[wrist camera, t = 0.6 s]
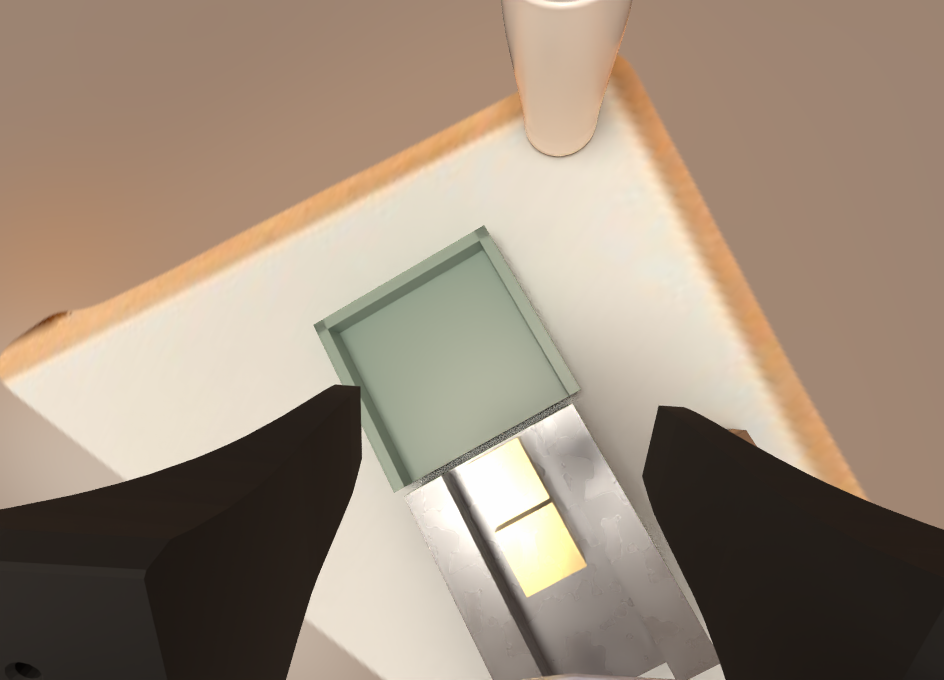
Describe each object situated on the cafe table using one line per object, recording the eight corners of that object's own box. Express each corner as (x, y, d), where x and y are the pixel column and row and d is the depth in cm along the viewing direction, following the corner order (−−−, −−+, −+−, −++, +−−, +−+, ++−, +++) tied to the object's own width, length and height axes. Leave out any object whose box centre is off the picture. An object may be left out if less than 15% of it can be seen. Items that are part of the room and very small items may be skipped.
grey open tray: (697, 626, 31) (722, 661, 27) (533, 709, 32) (530, 758, 27) (568, 404, 34) (572, 403, 30) (422, 485, 35) (403, 496, 30)
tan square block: (583, 553, 31) (587, 565, 28) (528, 582, 31) (526, 597, 29) (551, 495, 32) (552, 502, 29) (498, 524, 32) (494, 533, 29)
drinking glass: (563, 186, 36) (574, 35, 22) (497, 133, 38) (466, -42, 23) (624, 120, 36) (677, -76, 22) (557, 70, 38) (563, -146, 23)
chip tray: (577, 391, 34) (580, 389, 31) (406, 485, 35) (394, 492, 32) (489, 240, 37) (484, 225, 34) (331, 331, 38) (313, 324, 35)
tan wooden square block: (549, 491, 32) (549, 497, 29) (495, 519, 32) (491, 529, 29) (519, 435, 32) (516, 438, 30) (467, 464, 33) (460, 469, 30)
